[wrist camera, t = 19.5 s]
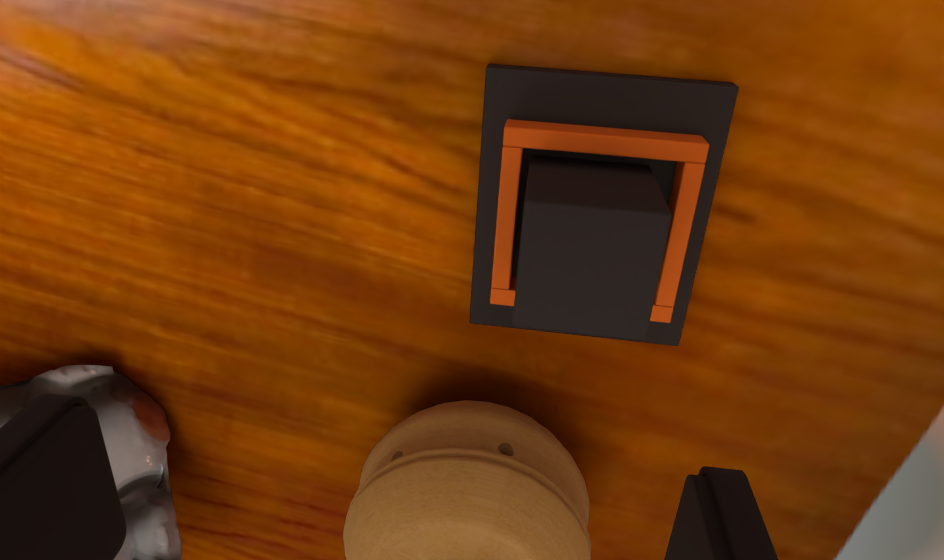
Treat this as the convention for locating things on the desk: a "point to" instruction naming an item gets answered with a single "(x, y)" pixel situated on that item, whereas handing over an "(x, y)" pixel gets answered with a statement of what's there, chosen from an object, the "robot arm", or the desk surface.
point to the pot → (469, 490)
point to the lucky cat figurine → (119, 450)
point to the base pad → (600, 139)
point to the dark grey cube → (590, 247)
